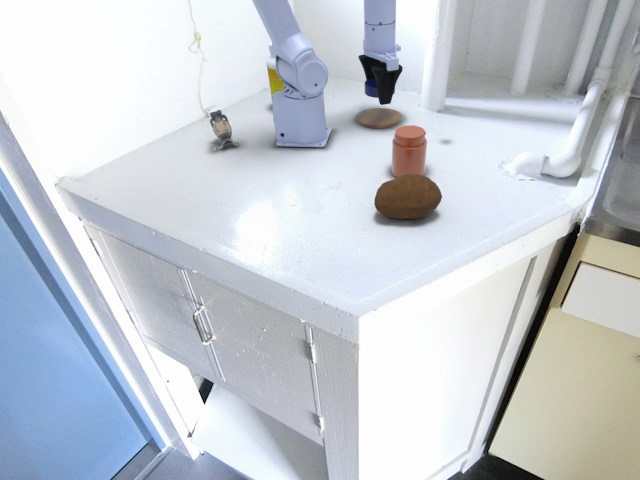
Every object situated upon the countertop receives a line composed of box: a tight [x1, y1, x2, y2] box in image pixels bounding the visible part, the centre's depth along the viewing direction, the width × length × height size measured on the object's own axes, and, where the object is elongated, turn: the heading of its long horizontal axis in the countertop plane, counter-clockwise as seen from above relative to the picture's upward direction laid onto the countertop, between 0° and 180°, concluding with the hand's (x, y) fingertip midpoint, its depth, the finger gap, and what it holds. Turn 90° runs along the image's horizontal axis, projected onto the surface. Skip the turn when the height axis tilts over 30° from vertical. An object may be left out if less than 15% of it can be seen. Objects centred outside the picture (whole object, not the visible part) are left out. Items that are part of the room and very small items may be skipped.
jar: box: [391, 124, 428, 178], centre depth 78 cm, size 6×6×7 cm
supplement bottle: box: [265, 41, 284, 101], centre depth 99 cm, size 7×7×13 cm
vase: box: [209, 109, 241, 152], centre depth 89 cm, size 5×5×6 cm
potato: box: [373, 174, 443, 220], centre depth 68 cm, size 7×10×6 cm
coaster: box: [357, 107, 403, 129], centre depth 96 cm, size 9×9×1 cm
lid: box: [364, 78, 396, 99], centre depth 92 cm, size 6×6×2 cm
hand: (379, 98), depth 94 cm, fingers closed on lid, 6 cm apart
